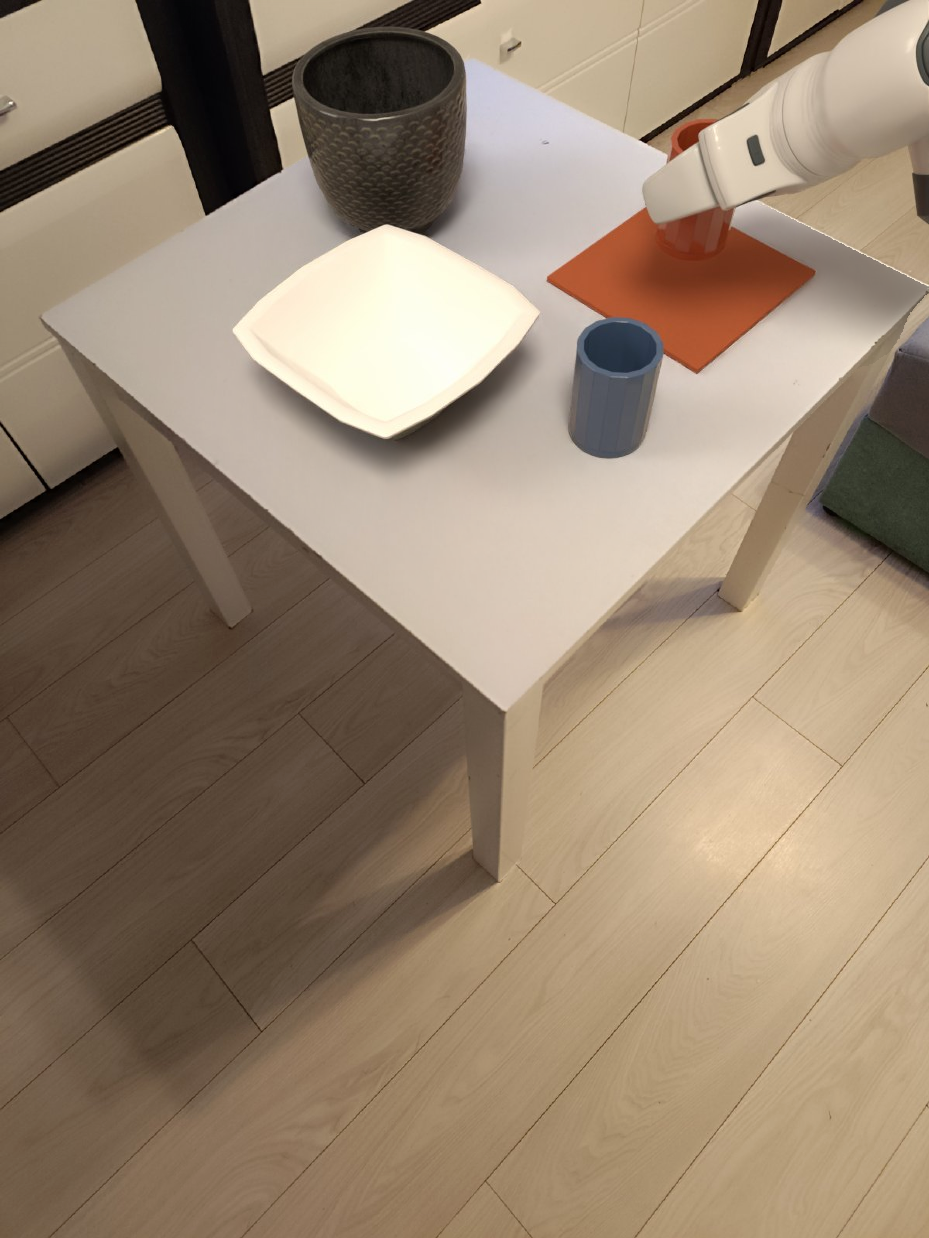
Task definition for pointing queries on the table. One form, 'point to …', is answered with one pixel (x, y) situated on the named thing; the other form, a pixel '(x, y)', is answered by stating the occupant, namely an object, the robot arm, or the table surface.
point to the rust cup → (701, 230)
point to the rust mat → (682, 287)
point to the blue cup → (614, 386)
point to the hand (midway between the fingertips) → (696, 184)
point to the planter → (384, 124)
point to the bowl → (386, 330)
